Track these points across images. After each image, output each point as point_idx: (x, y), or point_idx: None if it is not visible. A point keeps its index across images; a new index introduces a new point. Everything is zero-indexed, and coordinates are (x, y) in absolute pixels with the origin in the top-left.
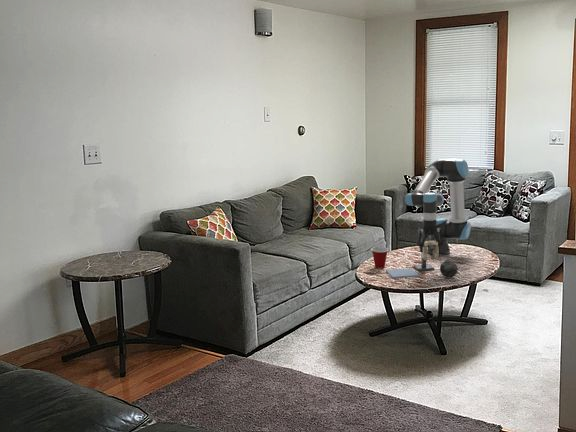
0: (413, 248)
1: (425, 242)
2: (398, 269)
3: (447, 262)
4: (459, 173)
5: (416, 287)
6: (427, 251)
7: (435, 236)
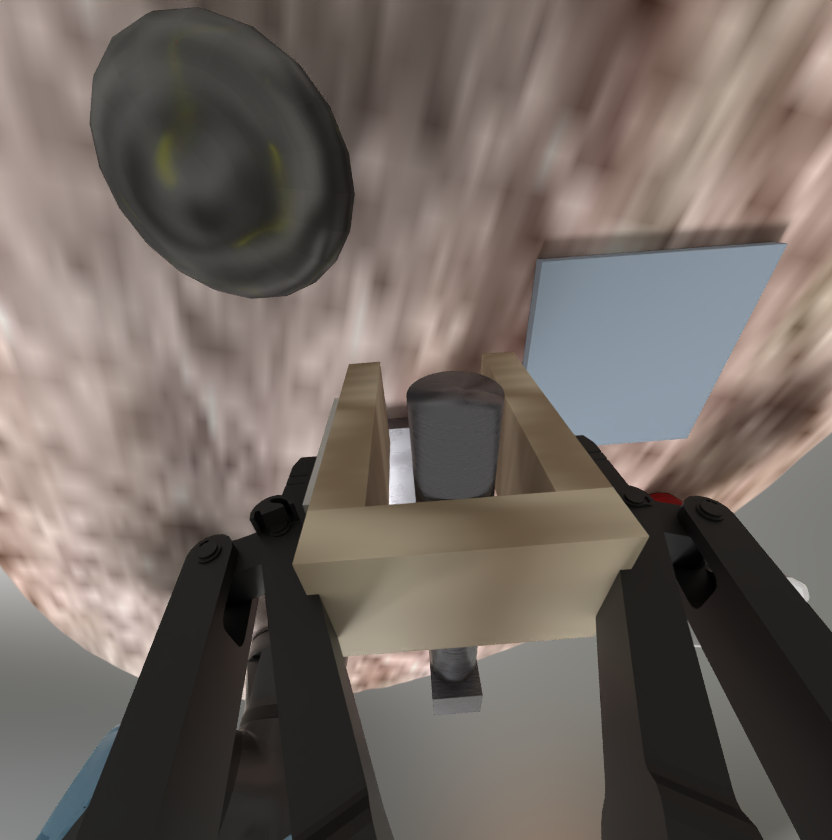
0: (389, 679)
1: (594, 572)
2: (608, 438)
3: (215, 104)
4: None
5: None
6: None
7: (326, 791)
